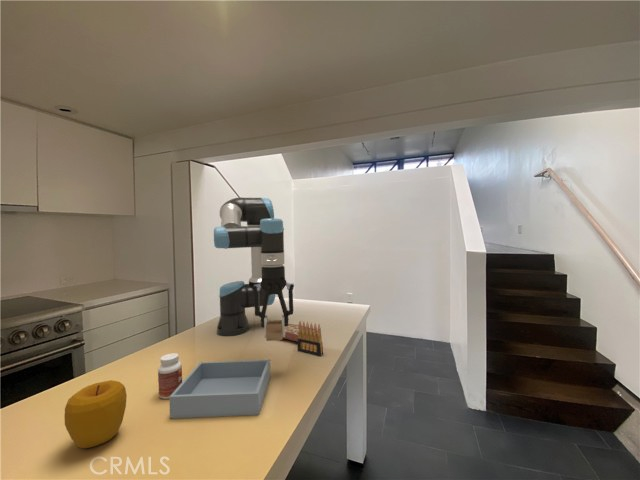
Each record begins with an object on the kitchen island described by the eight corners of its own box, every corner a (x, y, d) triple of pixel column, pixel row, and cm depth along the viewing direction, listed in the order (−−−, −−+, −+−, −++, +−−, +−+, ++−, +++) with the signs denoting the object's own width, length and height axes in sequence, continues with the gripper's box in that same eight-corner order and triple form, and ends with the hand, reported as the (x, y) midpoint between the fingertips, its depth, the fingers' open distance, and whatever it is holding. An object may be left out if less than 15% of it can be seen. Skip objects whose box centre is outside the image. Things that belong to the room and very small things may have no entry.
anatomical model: (268, 339, 120) (268, 328, 120) (283, 332, 129) (283, 321, 128) (310, 350, 108) (310, 338, 107) (324, 341, 116) (323, 330, 116)
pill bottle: (183, 394, 79) (182, 357, 79) (159, 402, 76) (158, 363, 76) (181, 385, 84) (180, 350, 84) (158, 392, 81) (157, 355, 81)
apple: (76, 469, 54) (73, 406, 54) (58, 447, 60) (55, 390, 60) (136, 434, 64) (134, 380, 63) (116, 418, 69) (114, 369, 69)
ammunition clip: (323, 354, 103) (322, 323, 103) (320, 356, 101) (319, 325, 101) (300, 349, 108) (299, 319, 108) (297, 351, 107) (296, 321, 107)
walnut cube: (268, 335, 91) (268, 320, 91) (283, 334, 91) (283, 319, 91) (266, 340, 86) (265, 325, 86) (282, 340, 86) (281, 324, 86)
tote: (200, 379, 88) (200, 362, 87) (270, 376, 88) (269, 359, 88) (170, 418, 69) (169, 396, 69) (258, 414, 69) (258, 393, 69)
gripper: (242, 268, 84) (244, 341, 85) (300, 266, 85) (302, 339, 86) (247, 265, 92) (250, 333, 92) (300, 263, 93) (302, 330, 93)
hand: (275, 335), depth 89 cm, fingers closed on walnut cube, 5 cm apart
